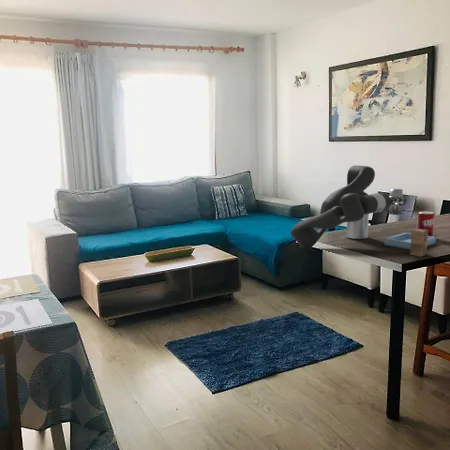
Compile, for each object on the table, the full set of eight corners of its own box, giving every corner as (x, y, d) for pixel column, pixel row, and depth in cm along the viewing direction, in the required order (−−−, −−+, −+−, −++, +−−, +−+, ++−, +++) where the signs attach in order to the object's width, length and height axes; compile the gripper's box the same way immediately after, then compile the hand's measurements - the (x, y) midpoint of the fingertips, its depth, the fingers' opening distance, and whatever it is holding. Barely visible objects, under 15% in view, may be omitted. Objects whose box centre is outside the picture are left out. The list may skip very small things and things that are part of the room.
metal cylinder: (388, 214, 205) (389, 190, 204) (389, 212, 210) (390, 188, 208) (400, 215, 204) (402, 190, 202) (401, 213, 208) (403, 189, 206)
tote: (414, 250, 208) (415, 243, 207) (384, 245, 218) (384, 238, 218) (435, 243, 220) (435, 237, 219) (405, 238, 230) (405, 232, 229)
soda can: (412, 237, 233) (414, 211, 231) (425, 236, 235) (426, 210, 233) (424, 240, 226) (425, 214, 224) (436, 239, 229) (438, 213, 226)
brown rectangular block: (420, 256, 199) (422, 231, 197) (410, 254, 202) (411, 230, 200) (426, 254, 202) (427, 230, 200) (415, 252, 205) (417, 228, 203)
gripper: (360, 210, 202) (383, 205, 213) (392, 214, 192) (415, 209, 203) (361, 191, 201) (384, 188, 212) (393, 194, 190) (416, 190, 201)
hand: (399, 198), depth 207 cm, fingers closed on metal cylinder, 5 cm apart
